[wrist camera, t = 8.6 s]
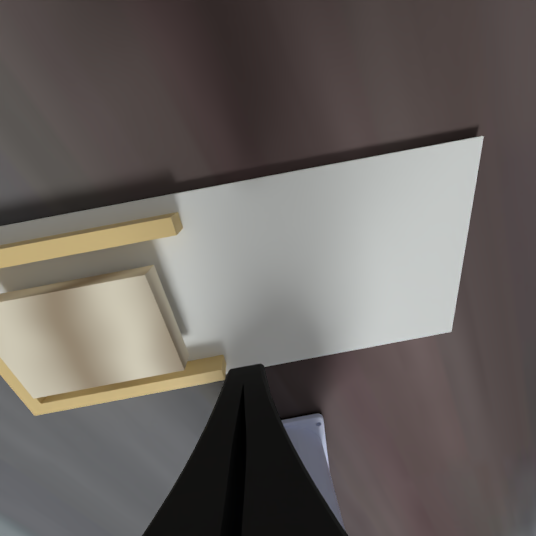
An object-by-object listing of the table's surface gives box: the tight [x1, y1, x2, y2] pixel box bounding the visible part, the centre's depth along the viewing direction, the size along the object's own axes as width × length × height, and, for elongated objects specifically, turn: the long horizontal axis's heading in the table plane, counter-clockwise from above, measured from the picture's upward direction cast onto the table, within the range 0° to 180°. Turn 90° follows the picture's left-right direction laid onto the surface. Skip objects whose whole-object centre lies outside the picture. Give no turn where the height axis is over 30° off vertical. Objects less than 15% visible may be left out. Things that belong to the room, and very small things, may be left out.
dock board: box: [0, 136, 484, 416], centre depth 16 cm, size 14×32×2 cm, turn 100°
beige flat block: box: [0, 265, 189, 399], centre depth 16 cm, size 10×7×2 cm
